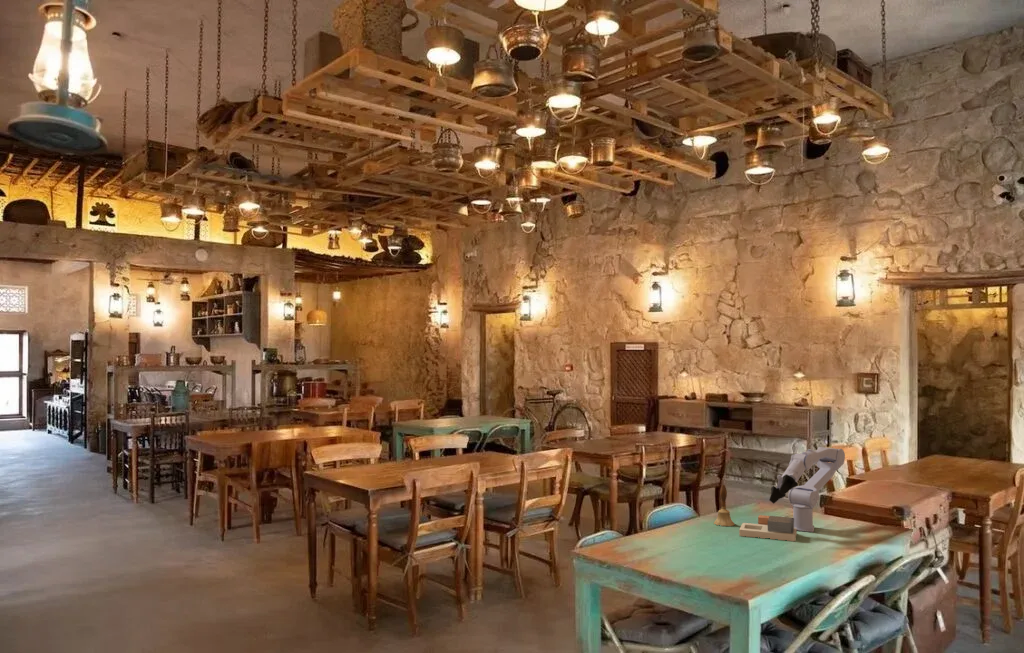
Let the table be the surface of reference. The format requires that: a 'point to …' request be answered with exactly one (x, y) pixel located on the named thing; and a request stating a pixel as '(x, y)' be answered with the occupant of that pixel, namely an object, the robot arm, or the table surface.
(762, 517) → the block
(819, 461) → the robot arm
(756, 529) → the board
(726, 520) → the hand bell
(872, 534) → the table surface
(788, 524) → the cover
